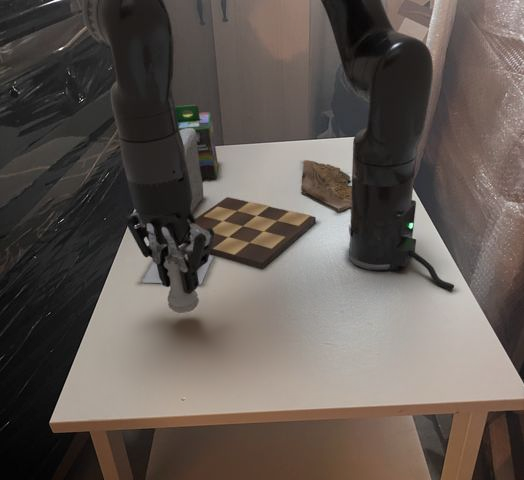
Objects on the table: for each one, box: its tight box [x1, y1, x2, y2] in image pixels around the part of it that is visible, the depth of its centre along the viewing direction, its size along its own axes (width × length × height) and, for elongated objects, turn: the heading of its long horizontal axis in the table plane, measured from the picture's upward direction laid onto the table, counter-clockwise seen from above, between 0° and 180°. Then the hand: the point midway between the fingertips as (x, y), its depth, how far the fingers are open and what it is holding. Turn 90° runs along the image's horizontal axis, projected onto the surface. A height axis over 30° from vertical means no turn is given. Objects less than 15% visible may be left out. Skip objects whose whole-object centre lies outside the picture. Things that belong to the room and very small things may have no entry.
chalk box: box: [175, 104, 219, 181], centre depth 125 cm, size 9×9×15 cm
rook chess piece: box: [164, 253, 200, 314], centre depth 82 cm, size 4×4×8 cm
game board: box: [195, 196, 317, 270], centre depth 106 cm, size 20×18×1 cm
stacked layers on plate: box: [141, 244, 214, 285], centre depth 96 cm, size 10×9×6 cm
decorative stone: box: [180, 128, 204, 213], centre depth 111 cm, size 11×6×15 cm, turn 168°
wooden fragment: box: [300, 159, 352, 214], centre depth 120 cm, size 26×11×1 cm, turn 9°
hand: (180, 286), depth 82 cm, fingers closed on rook chess piece, 3 cm apart
